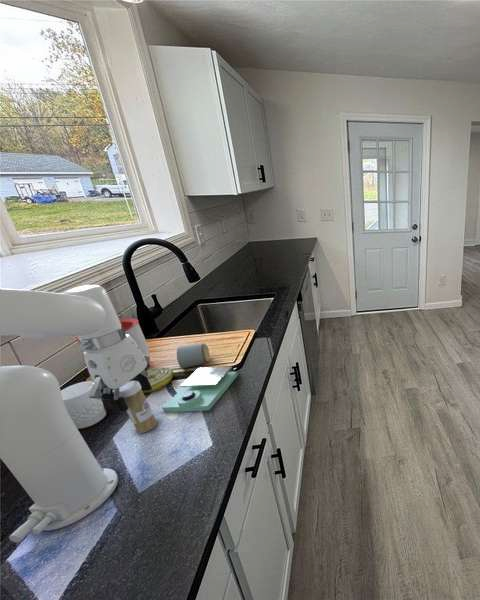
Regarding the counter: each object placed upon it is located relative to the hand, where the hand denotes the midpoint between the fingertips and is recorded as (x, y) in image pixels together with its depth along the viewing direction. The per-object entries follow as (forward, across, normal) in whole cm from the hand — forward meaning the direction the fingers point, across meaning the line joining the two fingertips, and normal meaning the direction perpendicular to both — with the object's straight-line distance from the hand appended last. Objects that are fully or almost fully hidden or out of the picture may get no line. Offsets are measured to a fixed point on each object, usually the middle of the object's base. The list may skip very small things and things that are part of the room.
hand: (134, 399), depth 79 cm
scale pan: (+6, +17, -7) cm, 19 cm away
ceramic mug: (+9, +30, +6) cm, 32 cm away
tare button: (+7, +8, -7) cm, 12 cm away
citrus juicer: (+9, +26, +27) cm, 38 cm away
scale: (+9, +14, -7) cm, 18 cm away
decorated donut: (+9, +18, +12) cm, 24 cm away
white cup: (+9, +4, +19) cm, 21 cm away
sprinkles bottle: (+9, 0, 0) cm, 9 cm away
